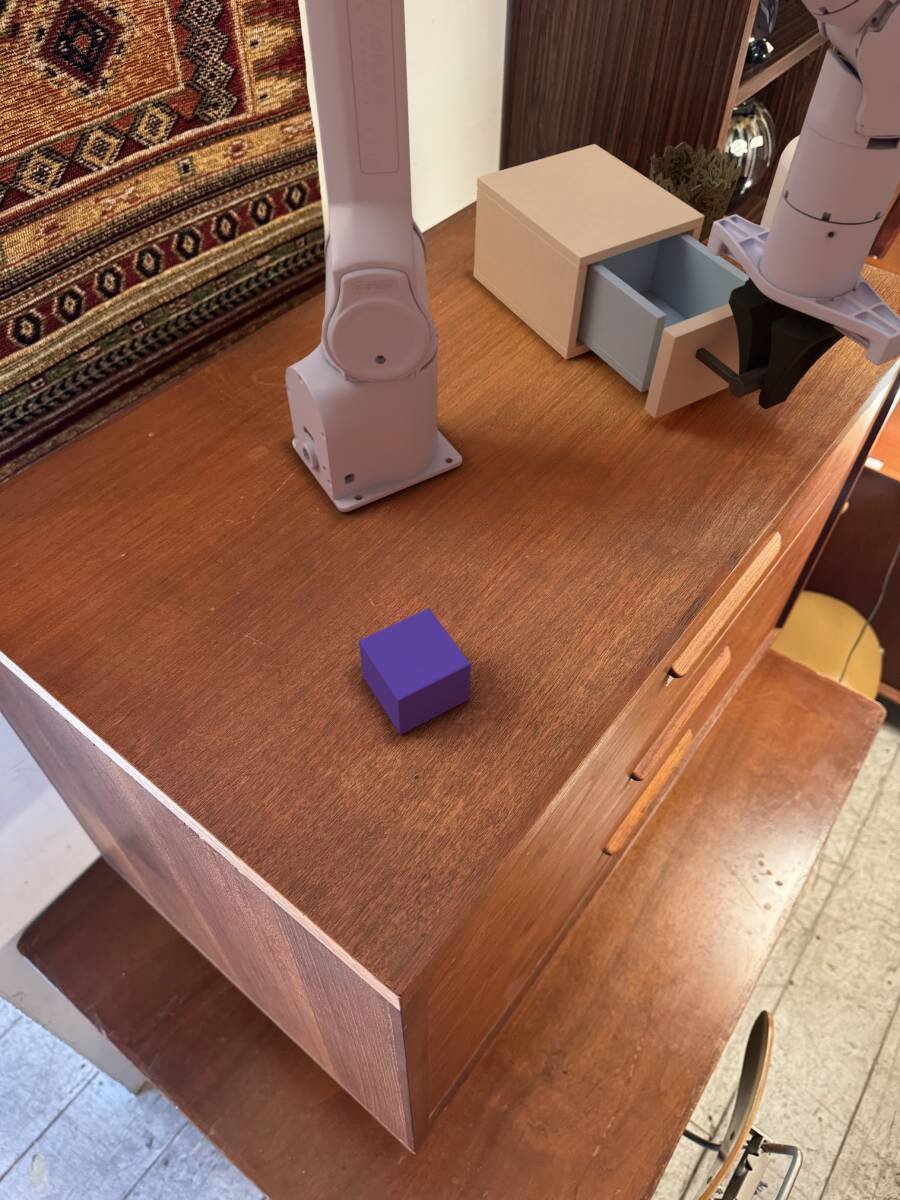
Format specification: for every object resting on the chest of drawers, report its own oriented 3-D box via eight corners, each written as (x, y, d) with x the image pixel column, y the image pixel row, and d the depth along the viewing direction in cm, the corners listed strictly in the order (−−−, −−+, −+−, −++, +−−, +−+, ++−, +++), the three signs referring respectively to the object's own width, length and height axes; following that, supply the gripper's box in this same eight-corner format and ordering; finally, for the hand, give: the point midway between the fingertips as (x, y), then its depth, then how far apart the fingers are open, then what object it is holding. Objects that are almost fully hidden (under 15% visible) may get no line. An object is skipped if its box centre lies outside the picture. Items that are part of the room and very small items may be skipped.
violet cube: (400, 735, 47) (398, 700, 44) (362, 677, 49) (358, 640, 46) (469, 700, 48) (471, 663, 45) (429, 644, 51) (428, 607, 48)
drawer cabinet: (679, 316, 71) (705, 215, 65) (566, 360, 68) (580, 257, 61) (581, 241, 78) (594, 143, 72) (473, 276, 75) (477, 176, 68)
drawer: (809, 409, 63) (843, 328, 57) (700, 459, 59) (726, 378, 54) (654, 292, 72) (672, 213, 67) (553, 329, 68) (563, 249, 63)
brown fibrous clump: (672, 222, 81) (691, 133, 74) (734, 255, 77) (760, 165, 71) (616, 249, 78) (632, 158, 71) (679, 284, 74) (701, 192, 68)
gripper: (990, 238, 46) (885, 435, 57) (791, 132, 53) (732, 323, 64) (899, 275, 44) (808, 473, 54) (705, 158, 51) (659, 352, 62)
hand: (762, 394), depth 59 cm, fingers closed on drawer
